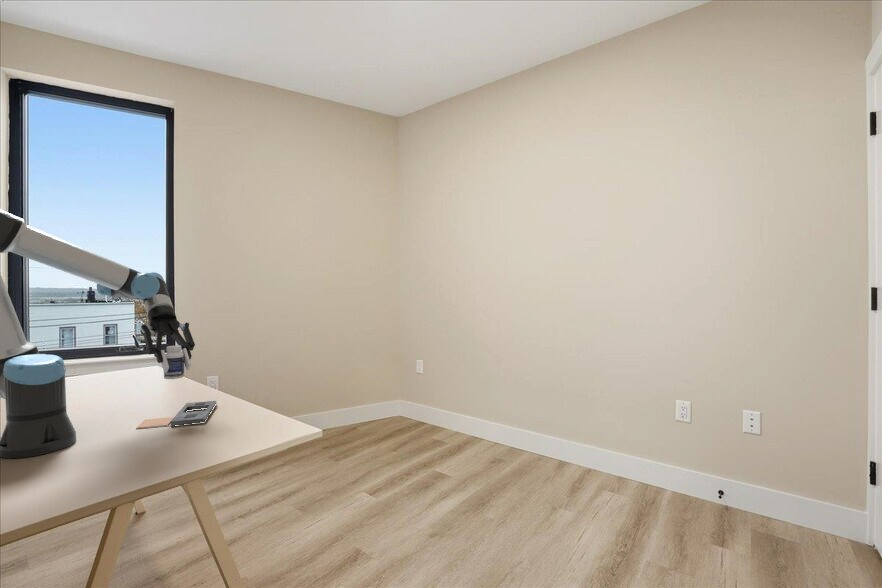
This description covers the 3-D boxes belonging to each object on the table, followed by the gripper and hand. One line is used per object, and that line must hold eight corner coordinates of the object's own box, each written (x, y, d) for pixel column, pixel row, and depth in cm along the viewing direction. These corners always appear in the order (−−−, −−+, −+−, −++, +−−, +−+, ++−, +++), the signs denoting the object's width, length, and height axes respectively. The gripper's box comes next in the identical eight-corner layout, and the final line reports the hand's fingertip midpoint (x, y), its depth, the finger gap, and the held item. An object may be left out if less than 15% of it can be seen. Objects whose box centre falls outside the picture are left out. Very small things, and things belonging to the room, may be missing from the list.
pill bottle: (186, 377, 141) (186, 346, 140) (167, 380, 137) (167, 348, 136) (180, 375, 144) (180, 344, 144) (161, 377, 140) (161, 346, 140)
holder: (204, 423, 136) (204, 418, 136) (170, 426, 133) (170, 421, 133) (216, 405, 155) (216, 400, 155) (186, 407, 152) (186, 402, 152)
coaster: (167, 426, 134) (167, 424, 134) (136, 429, 132) (136, 427, 132) (174, 418, 142) (174, 416, 142) (145, 420, 139) (145, 419, 139)
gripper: (188, 318, 157) (206, 372, 146) (125, 320, 144) (140, 380, 133) (194, 303, 153) (213, 357, 143) (129, 304, 140) (145, 364, 129)
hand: (177, 368), depth 138 cm, fingers closed on pill bottle, 5 cm apart
